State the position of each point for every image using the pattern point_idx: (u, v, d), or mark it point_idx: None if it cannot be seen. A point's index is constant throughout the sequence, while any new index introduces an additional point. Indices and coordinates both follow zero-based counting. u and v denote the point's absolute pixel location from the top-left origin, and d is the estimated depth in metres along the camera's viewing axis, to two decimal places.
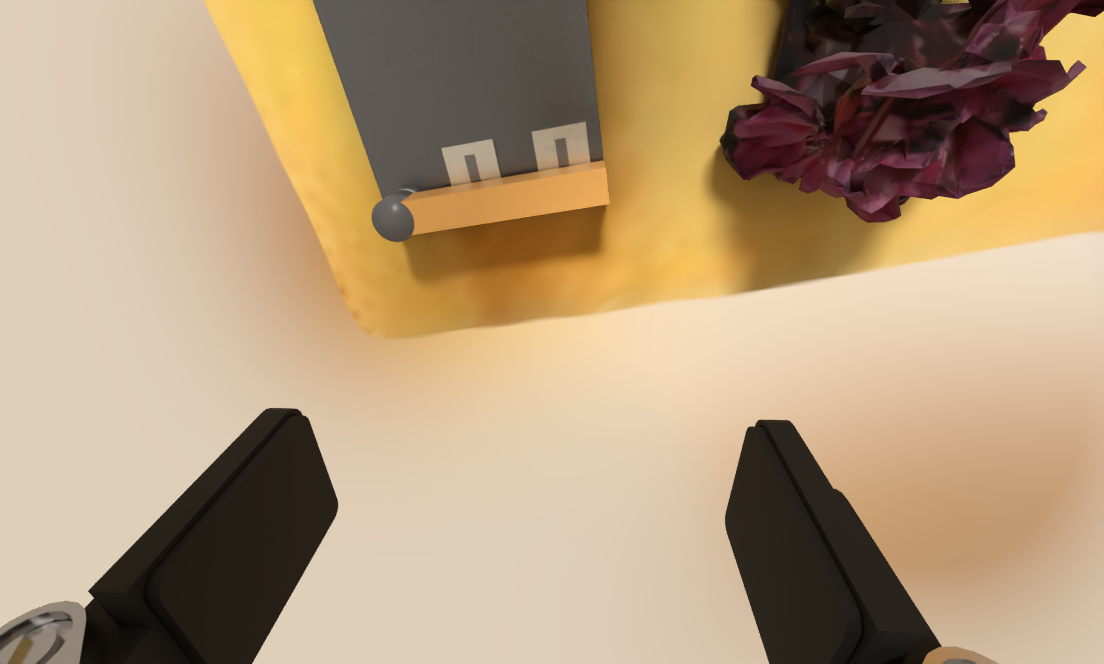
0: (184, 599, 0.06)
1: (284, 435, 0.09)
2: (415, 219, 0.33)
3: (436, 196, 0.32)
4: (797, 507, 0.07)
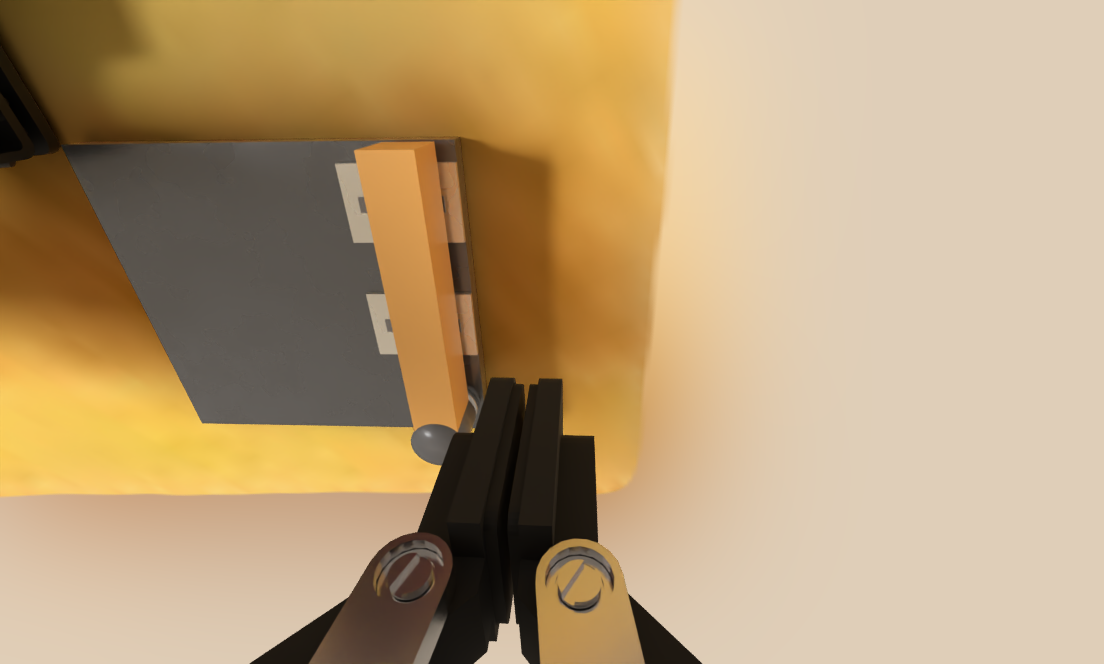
0: (500, 535, 0.07)
1: (519, 400, 0.09)
2: (436, 422, 0.25)
3: (407, 391, 0.24)
4: (524, 443, 0.08)
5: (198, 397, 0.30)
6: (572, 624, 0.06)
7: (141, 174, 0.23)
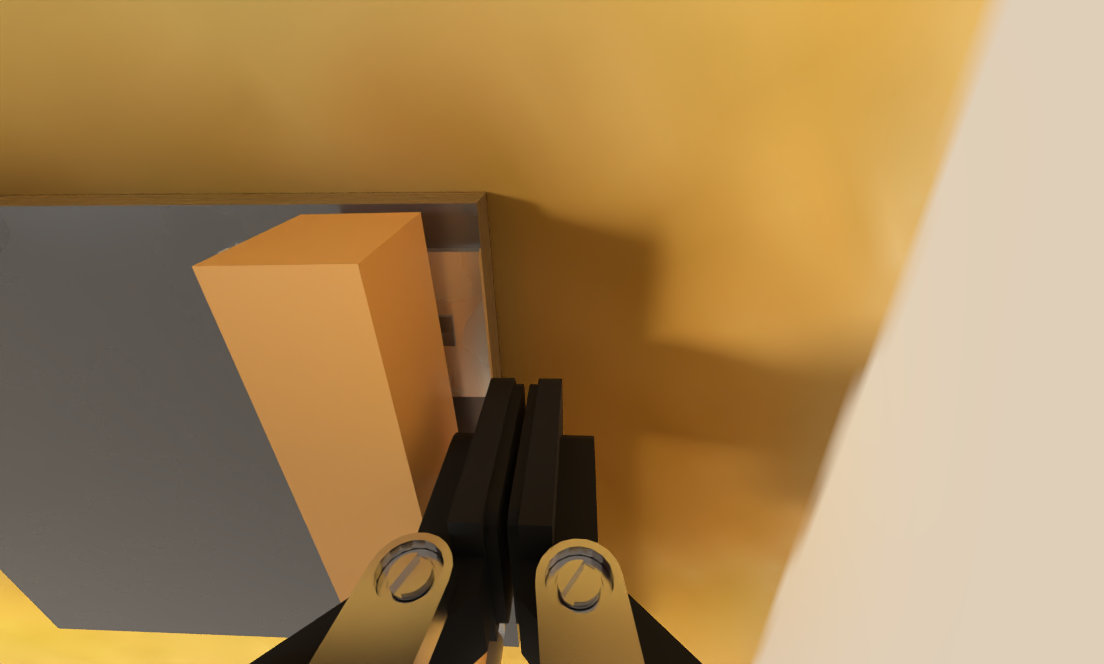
0: (500, 535, 0.07)
1: (519, 400, 0.09)
2: None
3: None
4: (524, 443, 0.08)
5: (43, 598, 0.18)
6: (572, 624, 0.06)
7: None
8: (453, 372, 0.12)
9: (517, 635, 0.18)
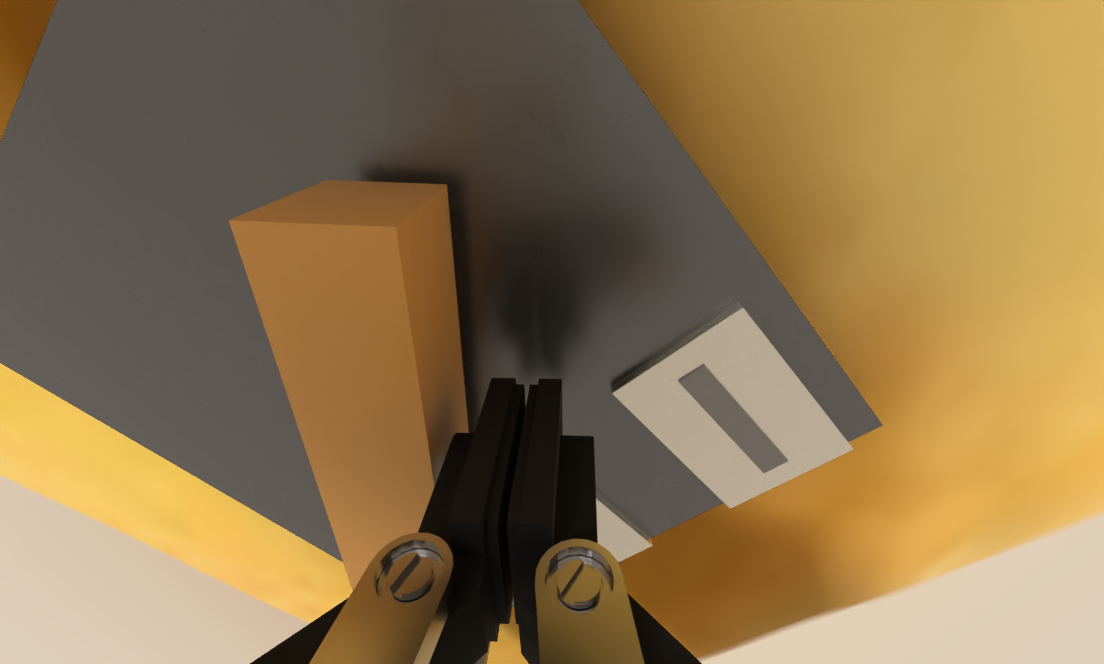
0: (501, 535, 0.07)
1: (520, 400, 0.09)
2: None
3: None
4: (524, 443, 0.08)
5: None
6: (571, 624, 0.06)
7: None
8: (736, 481, 0.14)
9: None
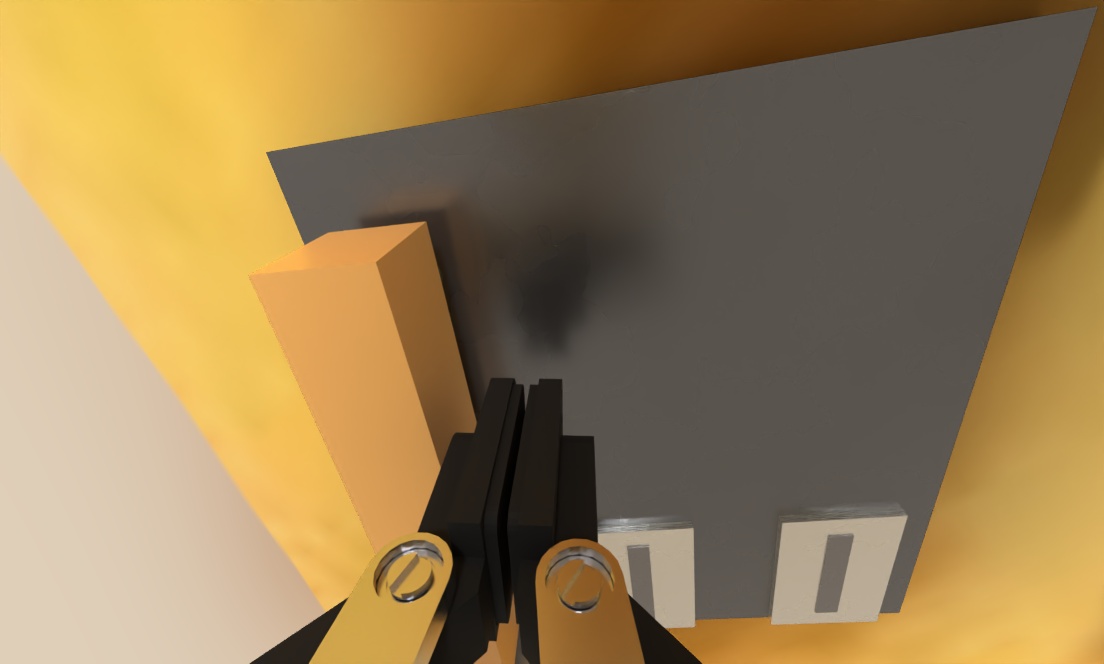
0: (500, 535, 0.07)
1: (519, 400, 0.09)
2: None
3: None
4: (524, 443, 0.08)
5: (360, 166, 0.11)
6: (572, 624, 0.06)
7: (968, 200, 0.11)
8: (793, 609, 0.18)
9: None
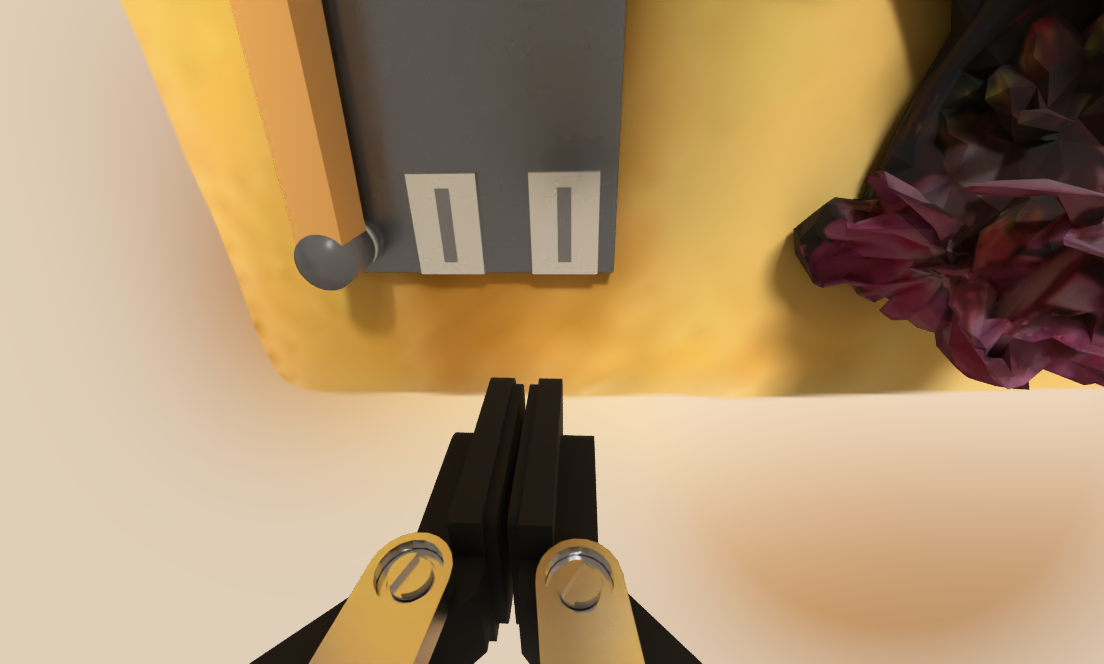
0: (500, 535, 0.07)
1: (519, 400, 0.09)
2: (318, 232, 0.24)
3: (283, 191, 0.23)
4: (524, 443, 0.08)
5: None
6: (572, 624, 0.06)
7: None
8: (544, 259, 0.27)
9: None
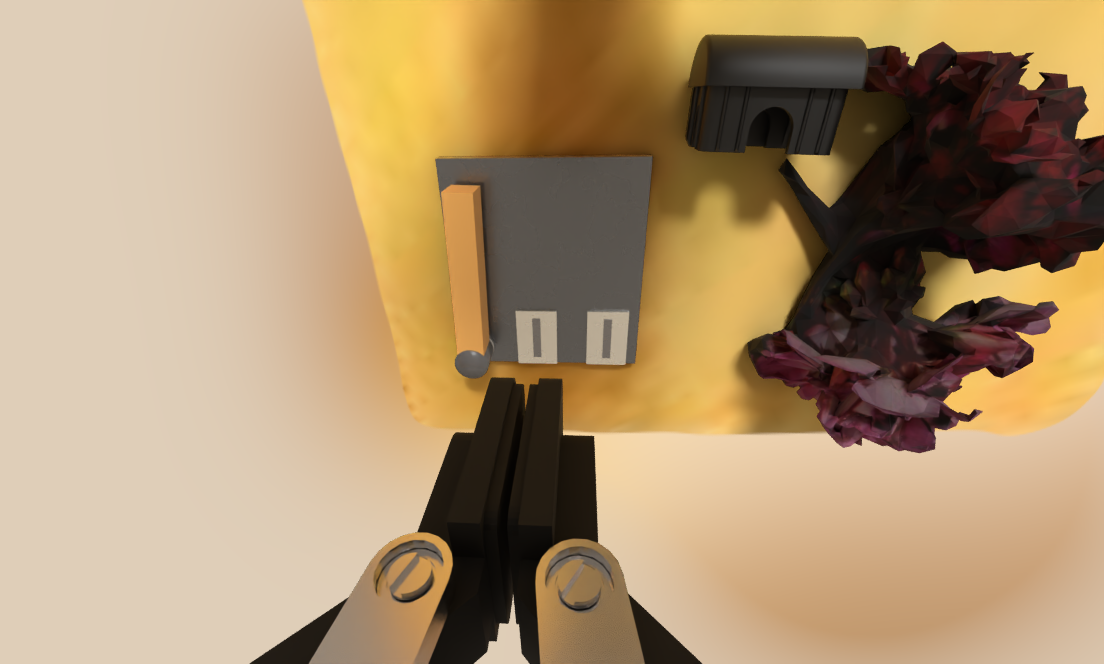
0: (500, 535, 0.07)
1: (519, 400, 0.09)
2: (471, 349, 0.42)
3: (455, 329, 0.41)
4: (525, 443, 0.08)
5: (462, 166, 0.38)
6: (572, 624, 0.06)
7: (631, 201, 0.38)
8: (594, 356, 0.46)
9: None
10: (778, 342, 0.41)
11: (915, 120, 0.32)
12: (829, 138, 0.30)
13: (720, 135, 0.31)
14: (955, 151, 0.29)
